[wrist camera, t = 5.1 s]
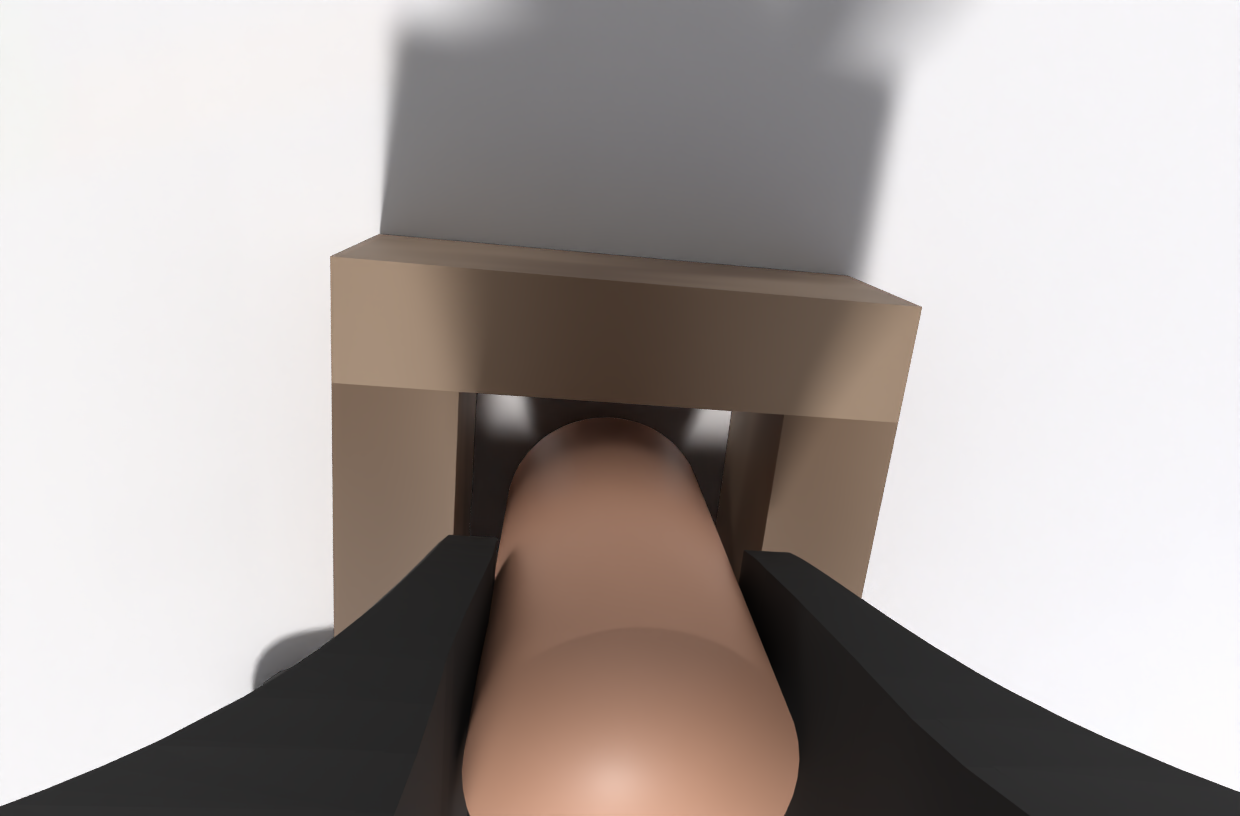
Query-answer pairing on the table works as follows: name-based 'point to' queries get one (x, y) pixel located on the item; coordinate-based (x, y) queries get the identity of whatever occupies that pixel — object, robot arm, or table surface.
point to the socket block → (606, 389)
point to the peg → (621, 646)
